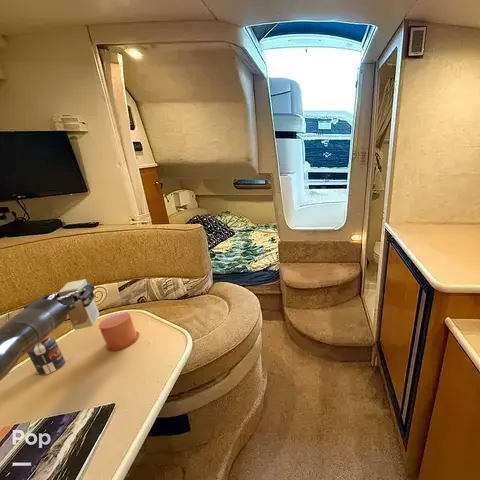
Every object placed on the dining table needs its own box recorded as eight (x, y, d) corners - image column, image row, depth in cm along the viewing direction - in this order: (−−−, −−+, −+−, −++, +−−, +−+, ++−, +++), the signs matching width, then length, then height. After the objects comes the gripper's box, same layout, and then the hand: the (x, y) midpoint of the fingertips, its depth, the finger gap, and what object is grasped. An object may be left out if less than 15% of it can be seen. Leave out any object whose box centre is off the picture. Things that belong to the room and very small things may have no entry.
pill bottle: (60, 371, 78) (44, 339, 75) (34, 378, 76) (16, 346, 72) (69, 357, 84) (54, 327, 80) (45, 363, 82) (28, 333, 78)
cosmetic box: (82, 318, 79) (67, 281, 75) (100, 314, 81) (86, 278, 77) (73, 331, 73) (56, 292, 69) (92, 326, 75) (77, 288, 71)
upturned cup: (99, 354, 84) (90, 331, 81) (114, 335, 93) (105, 314, 90) (132, 348, 86) (123, 326, 83) (143, 330, 94) (136, 309, 91)
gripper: (64, 303, 60) (104, 271, 76) (-12, 315, 58) (46, 279, 74) (76, 331, 63) (113, 294, 79) (4, 343, 60) (57, 303, 76)
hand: (80, 287), depth 76 cm, fingers closed on cosmetic box, 5 cm apart
